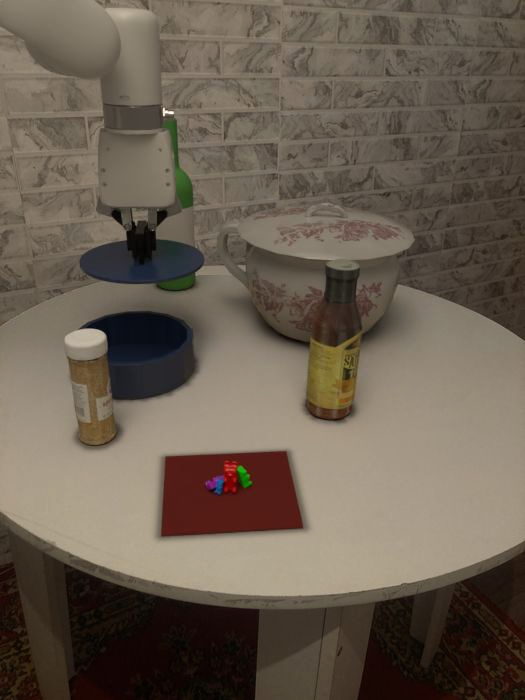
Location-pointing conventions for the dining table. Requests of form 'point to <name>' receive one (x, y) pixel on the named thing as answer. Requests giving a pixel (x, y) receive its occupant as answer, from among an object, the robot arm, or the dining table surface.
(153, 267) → the lid
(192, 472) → the cloth
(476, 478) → the dining table surface
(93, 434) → the spice jar
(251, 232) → the chamber pot
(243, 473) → the gummy candies
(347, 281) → the sauce bottle
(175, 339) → the pan
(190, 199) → the wine bottle
